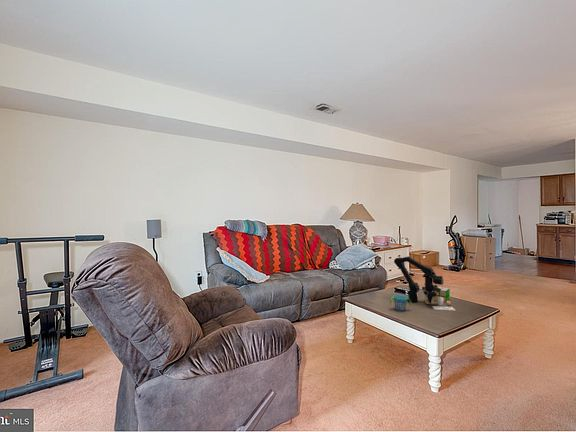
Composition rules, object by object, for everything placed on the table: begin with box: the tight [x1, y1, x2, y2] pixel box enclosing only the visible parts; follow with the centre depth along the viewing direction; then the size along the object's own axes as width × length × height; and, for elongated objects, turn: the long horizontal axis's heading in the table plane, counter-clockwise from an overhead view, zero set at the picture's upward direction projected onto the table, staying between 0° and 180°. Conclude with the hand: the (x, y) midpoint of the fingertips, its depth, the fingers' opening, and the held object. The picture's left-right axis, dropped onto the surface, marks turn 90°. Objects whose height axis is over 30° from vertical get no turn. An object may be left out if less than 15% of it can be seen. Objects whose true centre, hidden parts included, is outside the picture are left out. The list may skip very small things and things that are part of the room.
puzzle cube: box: [432, 286, 451, 304], centre depth 239 cm, size 10×10×10 cm
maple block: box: [424, 294, 434, 305], centre depth 229 cm, size 5×5×6 cm
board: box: [431, 305, 457, 312], centre depth 218 cm, size 15×8×1 cm, turn 80°
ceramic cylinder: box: [437, 297, 444, 307], centre depth 227 cm, size 4×4×6 cm
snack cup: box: [389, 294, 412, 312], centre depth 218 cm, size 16×10×10 cm
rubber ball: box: [445, 300, 452, 306], centre depth 226 cm, size 4×4×4 cm
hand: (428, 301), depth 229 cm, fingers closed on maple block, 5 cm apart
